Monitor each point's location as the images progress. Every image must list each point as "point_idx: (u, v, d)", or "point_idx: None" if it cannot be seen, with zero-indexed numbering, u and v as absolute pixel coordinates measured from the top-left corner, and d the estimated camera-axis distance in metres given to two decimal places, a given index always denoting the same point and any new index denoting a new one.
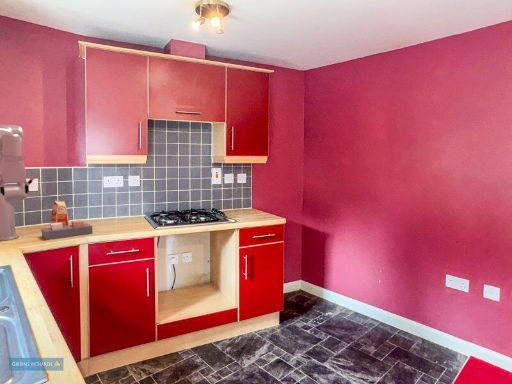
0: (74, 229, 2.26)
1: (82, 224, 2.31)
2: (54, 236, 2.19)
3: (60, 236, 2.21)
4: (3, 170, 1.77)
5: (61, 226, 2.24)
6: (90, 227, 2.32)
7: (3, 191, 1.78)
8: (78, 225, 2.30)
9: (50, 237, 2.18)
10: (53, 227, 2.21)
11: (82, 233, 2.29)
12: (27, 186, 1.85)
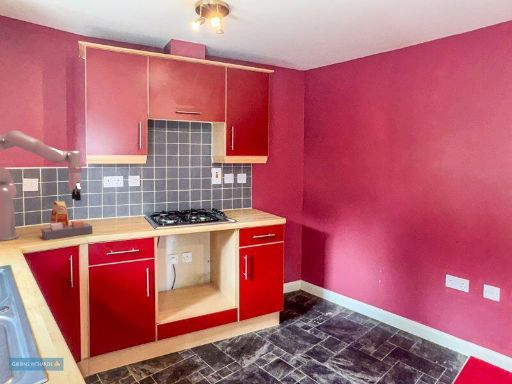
0: (74, 229, 2.26)
1: (82, 224, 2.31)
2: (54, 236, 2.19)
3: (60, 236, 2.21)
4: (80, 179, 2.27)
5: (61, 226, 2.24)
6: (90, 227, 2.32)
7: (80, 197, 2.28)
8: (78, 225, 2.30)
9: (50, 237, 2.18)
10: (53, 227, 2.21)
11: (82, 233, 2.29)
12: None
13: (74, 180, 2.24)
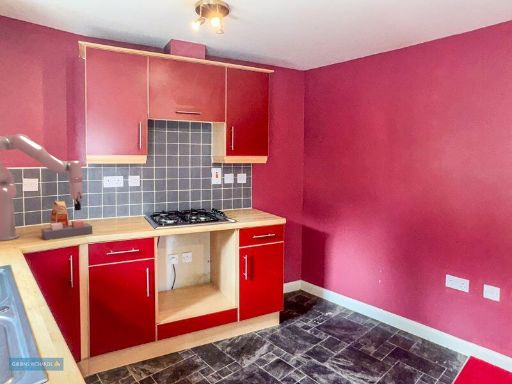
0: (74, 229, 2.26)
1: (82, 224, 2.31)
2: (54, 236, 2.19)
3: (60, 236, 2.21)
4: (81, 189, 2.28)
5: (61, 226, 2.24)
6: (90, 227, 2.32)
7: (80, 206, 2.32)
8: (78, 225, 2.30)
9: (50, 237, 2.18)
10: (53, 227, 2.21)
11: (82, 233, 2.29)
12: None
13: (75, 190, 2.25)
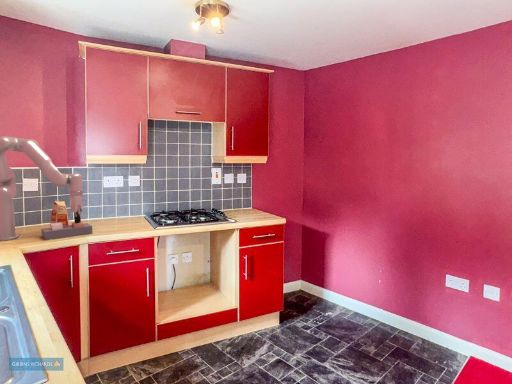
0: (74, 229, 2.26)
1: None
2: (54, 236, 2.19)
3: (60, 236, 2.21)
4: None
5: (61, 226, 2.24)
6: (90, 227, 2.32)
7: (80, 219, 2.33)
8: None
9: (50, 237, 2.18)
10: (53, 227, 2.21)
11: (82, 233, 2.29)
12: None
13: (75, 203, 2.26)
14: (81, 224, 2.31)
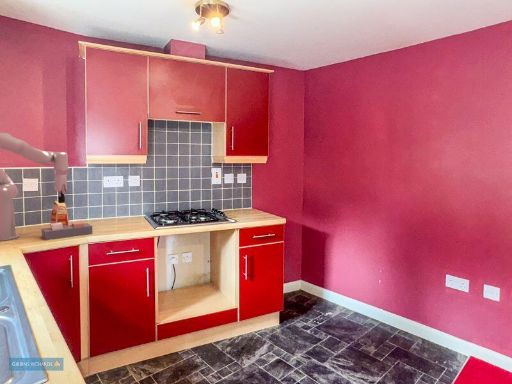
0: (74, 229, 2.26)
1: None
2: (54, 236, 2.19)
3: (60, 236, 2.21)
4: (66, 181, 2.22)
5: (61, 226, 2.24)
6: (90, 227, 2.32)
7: (64, 199, 2.26)
8: None
9: (50, 237, 2.18)
10: (53, 227, 2.21)
11: (82, 233, 2.29)
12: None
13: (60, 182, 2.19)
14: (81, 224, 2.31)
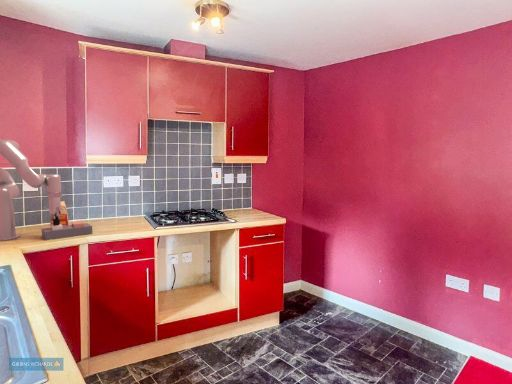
0: (74, 229, 2.26)
1: None
2: (54, 236, 2.19)
3: (60, 236, 2.21)
4: (60, 204, 2.21)
5: (61, 227, 2.24)
6: (90, 227, 2.32)
7: (59, 221, 2.25)
8: None
9: (50, 237, 2.18)
10: (53, 228, 2.21)
11: (82, 233, 2.29)
12: None
13: (53, 205, 2.18)
14: (81, 224, 2.31)
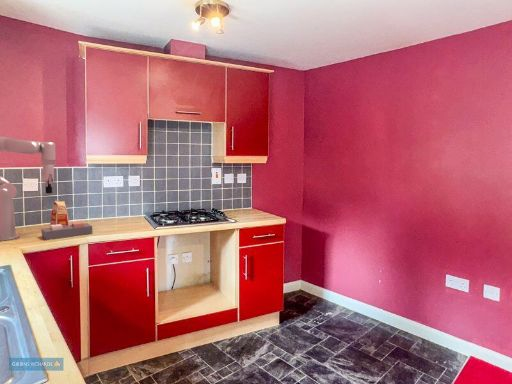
0: (74, 229, 2.26)
1: None
2: (54, 236, 2.19)
3: (60, 236, 2.21)
4: (53, 171, 2.21)
5: (61, 228, 2.24)
6: (90, 227, 2.32)
7: None
8: None
9: (50, 237, 2.18)
10: (53, 229, 2.21)
11: (82, 233, 2.29)
12: None
13: (46, 172, 2.18)
14: (81, 224, 2.31)
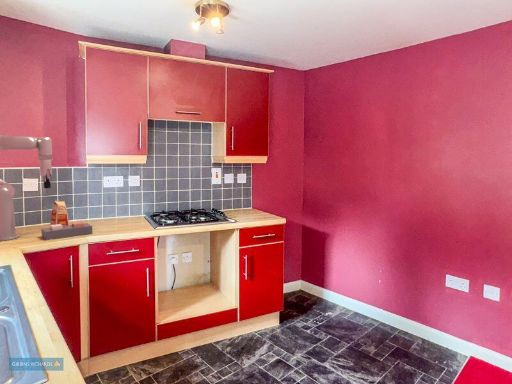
0: (74, 229, 2.26)
1: None
2: (54, 236, 2.19)
3: (60, 236, 2.21)
4: (51, 166, 2.23)
5: (61, 228, 2.24)
6: (90, 227, 2.32)
7: None
8: None
9: (50, 237, 2.18)
10: (53, 229, 2.21)
11: (82, 233, 2.29)
12: None
13: (44, 167, 2.20)
14: (81, 224, 2.31)
